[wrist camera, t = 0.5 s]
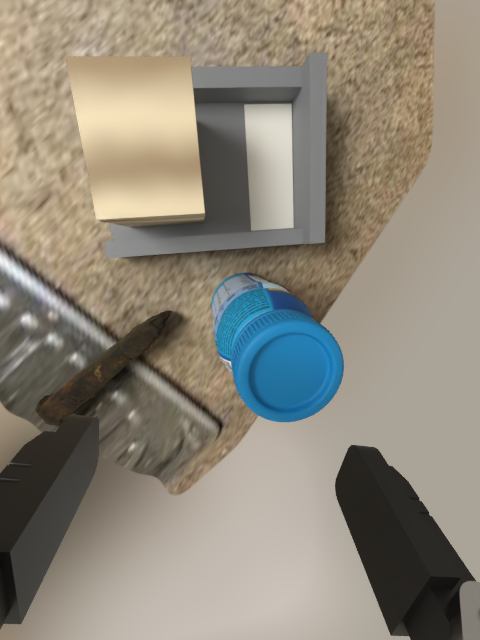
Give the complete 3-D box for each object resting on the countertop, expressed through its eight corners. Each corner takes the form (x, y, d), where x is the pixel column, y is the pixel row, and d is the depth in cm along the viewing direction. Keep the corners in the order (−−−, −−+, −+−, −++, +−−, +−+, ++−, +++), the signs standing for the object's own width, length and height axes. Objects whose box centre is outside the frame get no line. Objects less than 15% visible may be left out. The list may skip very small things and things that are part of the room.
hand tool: (70, 415, 37) (53, 438, 32) (46, 394, 36) (24, 415, 31) (185, 326, 36) (183, 338, 31) (164, 301, 35) (159, 310, 30)
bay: (88, 91, 28) (59, 52, 22) (303, 88, 30) (327, 52, 25) (118, 256, 32) (100, 259, 27) (304, 242, 35) (325, 242, 29)
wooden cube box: (111, 120, 28) (64, 55, 18) (194, 118, 29) (190, 55, 19) (128, 227, 31) (96, 220, 21) (204, 222, 32) (205, 213, 22)
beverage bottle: (208, 271, 34) (218, 306, 15) (277, 270, 35) (368, 302, 16) (210, 338, 36) (221, 443, 17) (275, 335, 37) (353, 431, 18)
